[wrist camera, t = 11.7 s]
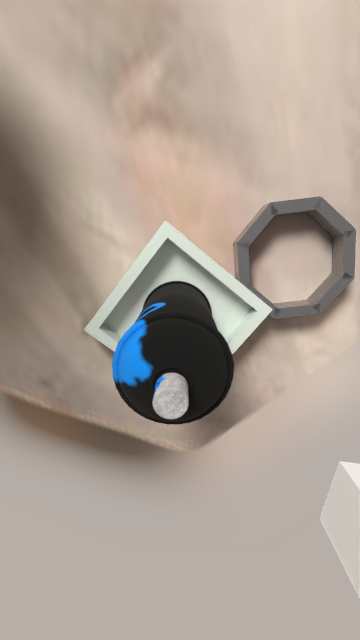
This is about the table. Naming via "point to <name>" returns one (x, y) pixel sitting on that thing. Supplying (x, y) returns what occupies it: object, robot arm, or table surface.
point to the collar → (340, 254)
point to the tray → (178, 265)
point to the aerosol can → (173, 357)
